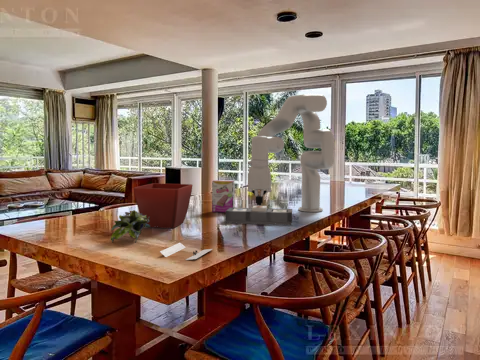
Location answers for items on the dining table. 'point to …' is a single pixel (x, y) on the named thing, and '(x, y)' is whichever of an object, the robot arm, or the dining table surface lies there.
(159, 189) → the plant pot
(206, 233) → the dining table surface
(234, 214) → the grey button panel
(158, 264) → the dining table surface
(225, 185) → the candy bar box
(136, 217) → the green leaves
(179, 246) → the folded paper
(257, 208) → the key terracotta
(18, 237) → the dining table surface
